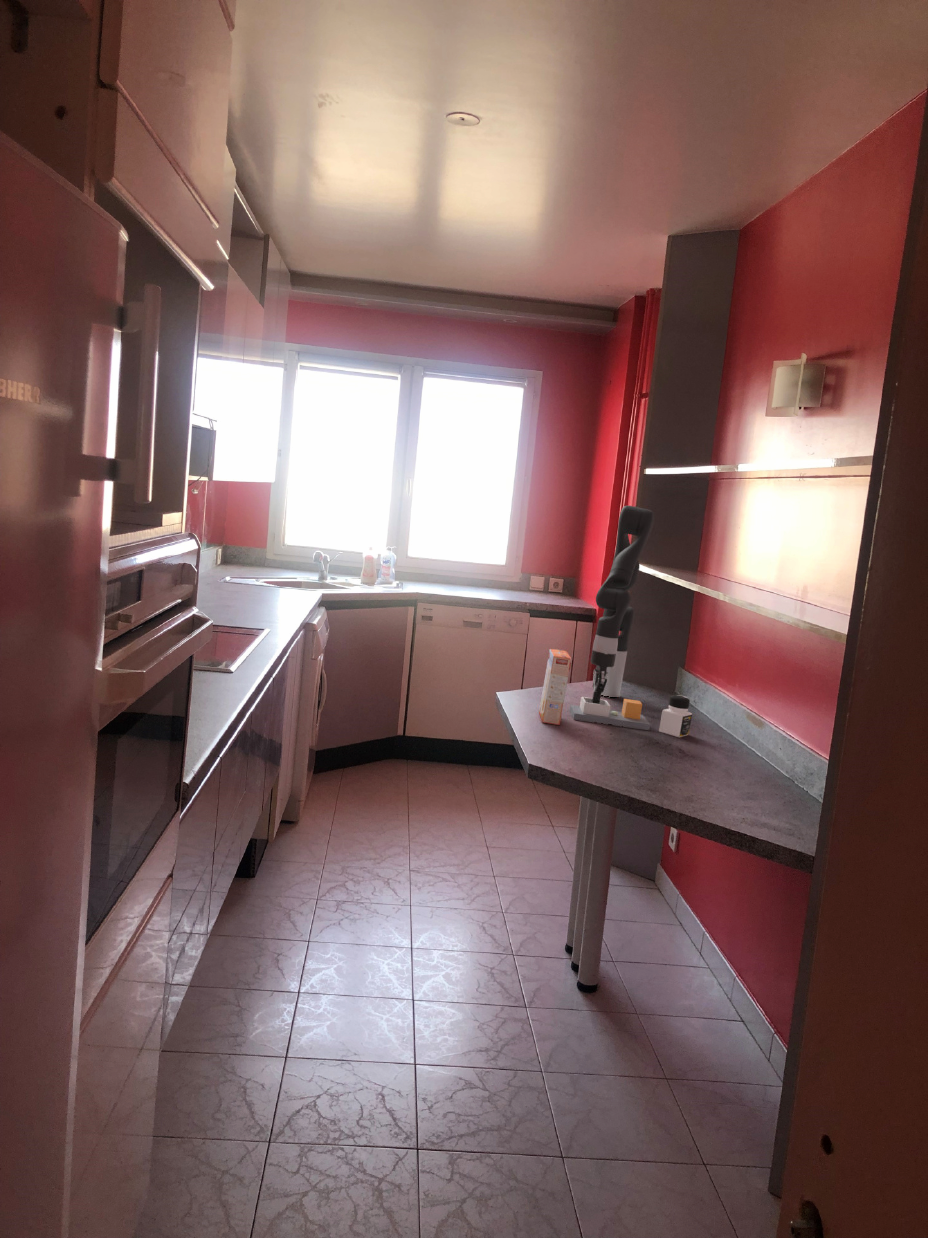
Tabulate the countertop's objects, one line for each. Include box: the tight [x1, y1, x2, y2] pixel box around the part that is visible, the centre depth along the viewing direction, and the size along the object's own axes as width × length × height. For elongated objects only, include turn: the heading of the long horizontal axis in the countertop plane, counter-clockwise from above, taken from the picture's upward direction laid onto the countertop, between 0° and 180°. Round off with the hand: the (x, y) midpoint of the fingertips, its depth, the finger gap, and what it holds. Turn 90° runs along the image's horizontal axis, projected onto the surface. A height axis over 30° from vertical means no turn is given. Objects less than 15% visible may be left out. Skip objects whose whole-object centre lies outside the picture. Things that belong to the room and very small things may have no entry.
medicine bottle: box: [658, 694, 693, 738], centre depth 282 cm, size 7×7×12 cm
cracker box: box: [538, 648, 572, 726], centre depth 275 cm, size 14×6×21 cm, turn 179°
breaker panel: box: [568, 696, 651, 731], centre depth 287 cm, size 12×24×6 cm, turn 90°
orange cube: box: [621, 698, 643, 720], centre depth 288 cm, size 5×5×5 cm
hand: (595, 703), depth 286 cm, fingers closed
